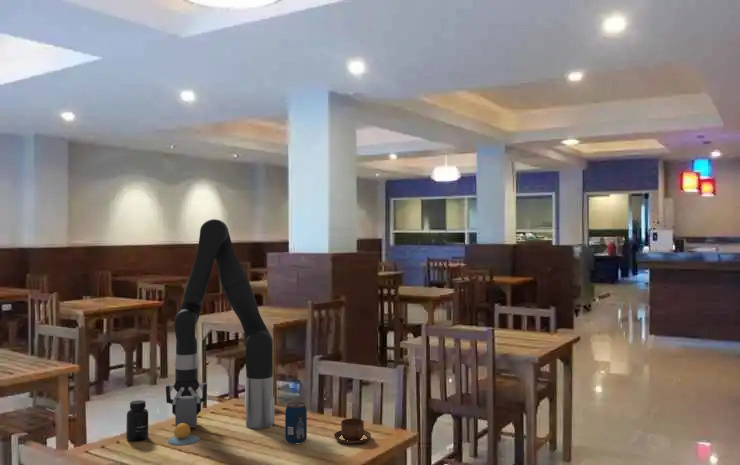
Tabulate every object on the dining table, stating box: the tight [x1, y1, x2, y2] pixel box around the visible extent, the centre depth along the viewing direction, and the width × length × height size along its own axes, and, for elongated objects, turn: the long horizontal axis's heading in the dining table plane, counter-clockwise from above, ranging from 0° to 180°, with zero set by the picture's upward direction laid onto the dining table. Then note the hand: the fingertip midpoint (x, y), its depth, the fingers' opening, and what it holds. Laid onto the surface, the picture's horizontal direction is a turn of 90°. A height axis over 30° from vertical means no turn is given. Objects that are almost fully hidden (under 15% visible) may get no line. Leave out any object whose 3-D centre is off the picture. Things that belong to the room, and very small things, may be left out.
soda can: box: [284, 401, 308, 445], centre depth 211 cm, size 7×7×12 cm
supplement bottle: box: [125, 399, 149, 442], centre depth 213 cm, size 7×7×12 cm
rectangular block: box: [174, 396, 198, 429], centre depth 225 cm, size 7×9×9 cm
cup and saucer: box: [333, 418, 372, 444], centre depth 212 cm, size 12×12×6 cm
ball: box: [174, 423, 191, 439], centre depth 213 cm, size 5×5×5 cm
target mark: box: [167, 434, 201, 446], centre depth 212 cm, size 10×10×1 cm
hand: (186, 414), depth 225 cm, fingers closed on rectangular block, 7 cm apart
